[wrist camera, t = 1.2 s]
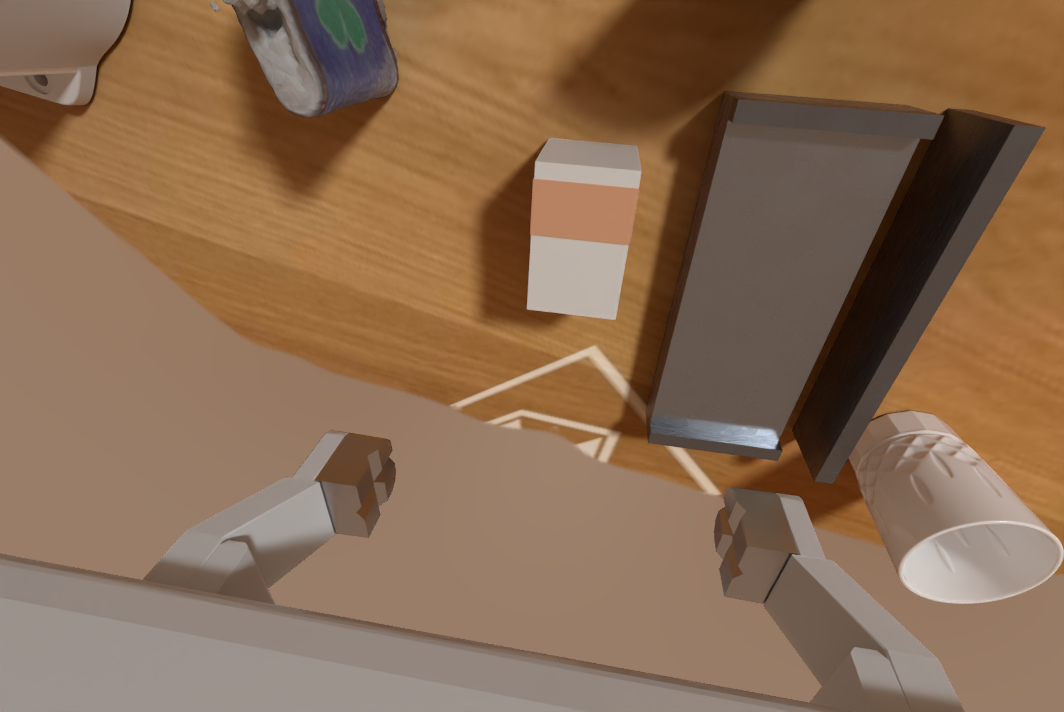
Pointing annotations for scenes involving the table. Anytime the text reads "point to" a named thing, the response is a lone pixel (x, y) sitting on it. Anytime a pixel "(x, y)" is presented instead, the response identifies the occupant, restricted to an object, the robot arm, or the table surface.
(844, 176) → the dark grey tray
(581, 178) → the block
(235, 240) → the table surface
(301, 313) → the table surface
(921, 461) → the white cup
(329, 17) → the flask
